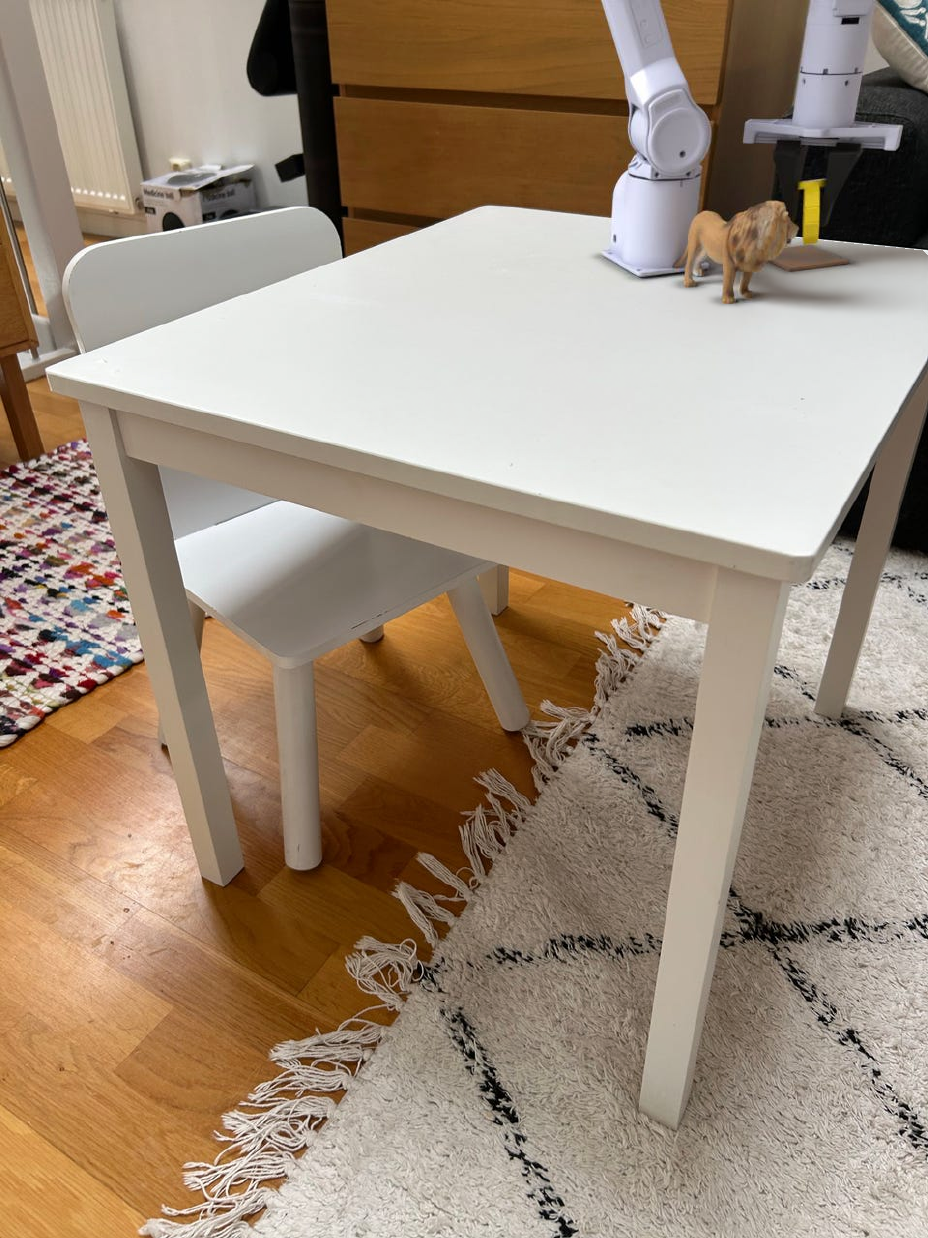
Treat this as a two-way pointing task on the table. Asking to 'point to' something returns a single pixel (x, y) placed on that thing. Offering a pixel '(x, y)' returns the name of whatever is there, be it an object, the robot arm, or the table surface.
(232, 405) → the table surface
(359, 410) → the table surface
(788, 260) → the coaster
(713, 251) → the lion figurine
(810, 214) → the yellow signet ring
